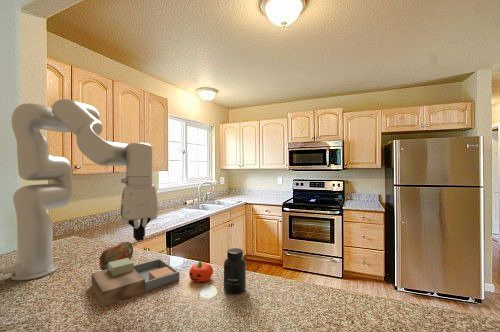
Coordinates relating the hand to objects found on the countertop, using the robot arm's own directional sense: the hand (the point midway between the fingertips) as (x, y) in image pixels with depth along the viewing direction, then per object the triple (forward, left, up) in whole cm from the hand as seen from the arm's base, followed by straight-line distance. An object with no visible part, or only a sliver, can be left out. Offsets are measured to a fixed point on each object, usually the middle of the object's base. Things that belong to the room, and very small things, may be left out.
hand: (139, 239), depth 77 cm
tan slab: (-5, +3, -15) cm, 16 cm away
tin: (-1, +22, -15) cm, 27 cm away
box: (+6, +3, -15) cm, 16 cm away
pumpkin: (+17, -9, -15) cm, 24 cm away
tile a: (+7, -1, -12) cm, 13 cm away
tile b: (-3, +7, -11) cm, 13 cm away
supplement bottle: (+21, -22, -15) cm, 34 cm away
